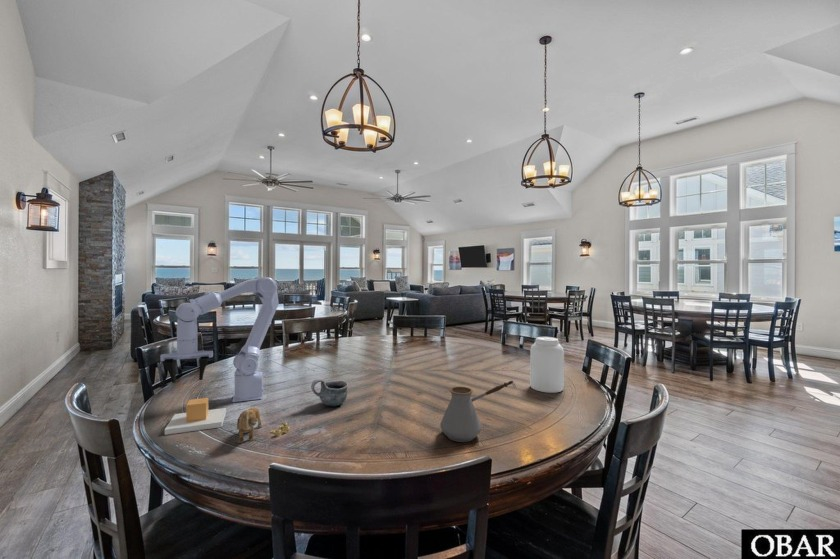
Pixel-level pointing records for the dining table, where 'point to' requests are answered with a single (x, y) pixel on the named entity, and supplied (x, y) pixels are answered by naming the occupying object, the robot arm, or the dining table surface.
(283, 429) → the dice set
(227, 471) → the dining table surface
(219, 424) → the plate
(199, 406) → the orange cube
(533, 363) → the white jar
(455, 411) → the coffee pot
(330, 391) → the mug
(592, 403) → the dining table surface
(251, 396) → the robot arm
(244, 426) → the lion figurine
